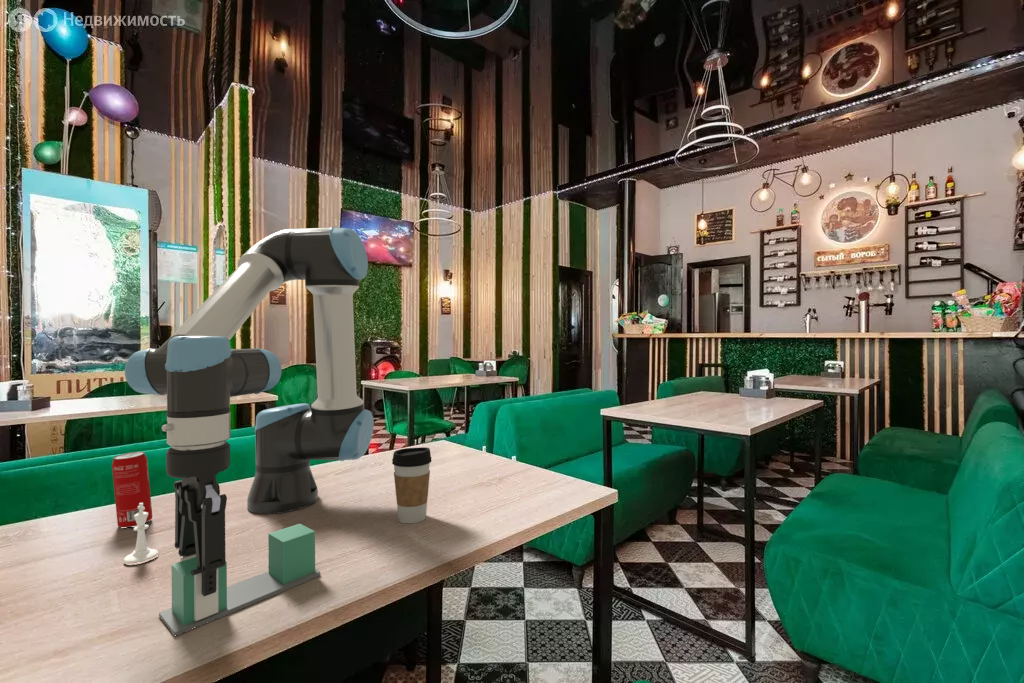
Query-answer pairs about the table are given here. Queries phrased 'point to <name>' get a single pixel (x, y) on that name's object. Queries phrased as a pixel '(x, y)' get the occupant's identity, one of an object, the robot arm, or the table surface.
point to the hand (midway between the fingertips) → (198, 607)
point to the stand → (265, 575)
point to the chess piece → (141, 540)
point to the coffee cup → (412, 483)
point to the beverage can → (131, 487)
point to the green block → (192, 589)
